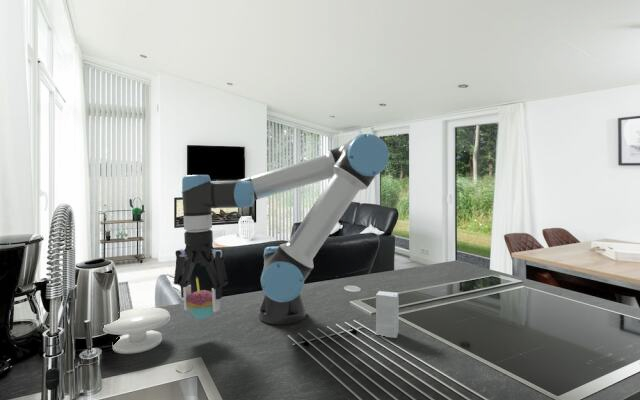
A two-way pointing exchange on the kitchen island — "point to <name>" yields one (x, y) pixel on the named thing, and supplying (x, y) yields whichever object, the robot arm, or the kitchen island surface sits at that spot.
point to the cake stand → (138, 329)
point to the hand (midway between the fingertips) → (202, 309)
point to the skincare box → (387, 314)
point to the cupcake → (200, 302)
